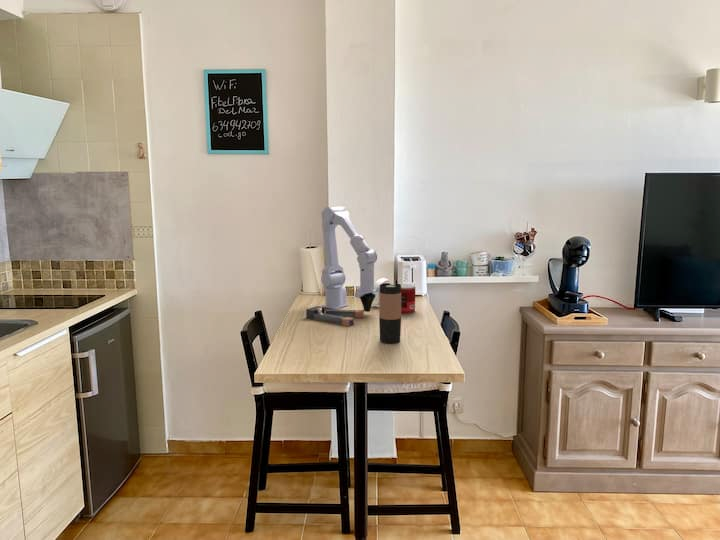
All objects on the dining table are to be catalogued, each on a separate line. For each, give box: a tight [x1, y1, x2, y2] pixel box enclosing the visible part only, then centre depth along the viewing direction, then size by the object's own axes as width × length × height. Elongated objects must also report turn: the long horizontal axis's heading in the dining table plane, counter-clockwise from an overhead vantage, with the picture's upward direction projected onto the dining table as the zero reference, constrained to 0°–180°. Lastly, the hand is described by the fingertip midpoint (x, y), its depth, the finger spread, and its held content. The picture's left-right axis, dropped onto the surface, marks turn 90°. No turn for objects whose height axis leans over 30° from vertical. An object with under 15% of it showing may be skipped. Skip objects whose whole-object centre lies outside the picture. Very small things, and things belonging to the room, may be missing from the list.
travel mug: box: [378, 282, 402, 345], centre depth 194 cm, size 8×8×20 cm
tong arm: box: [325, 308, 365, 319], centre depth 228 cm, size 16×3×3 cm, turn 84°
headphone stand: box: [373, 277, 390, 308], centre depth 246 cm, size 5×6×12 cm
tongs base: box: [305, 305, 355, 327], centre depth 223 cm, size 22×7×4 cm, turn 54°
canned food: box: [400, 283, 416, 314], centre depth 237 cm, size 8×8×11 cm
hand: (367, 311), depth 232 cm, fingers closed
